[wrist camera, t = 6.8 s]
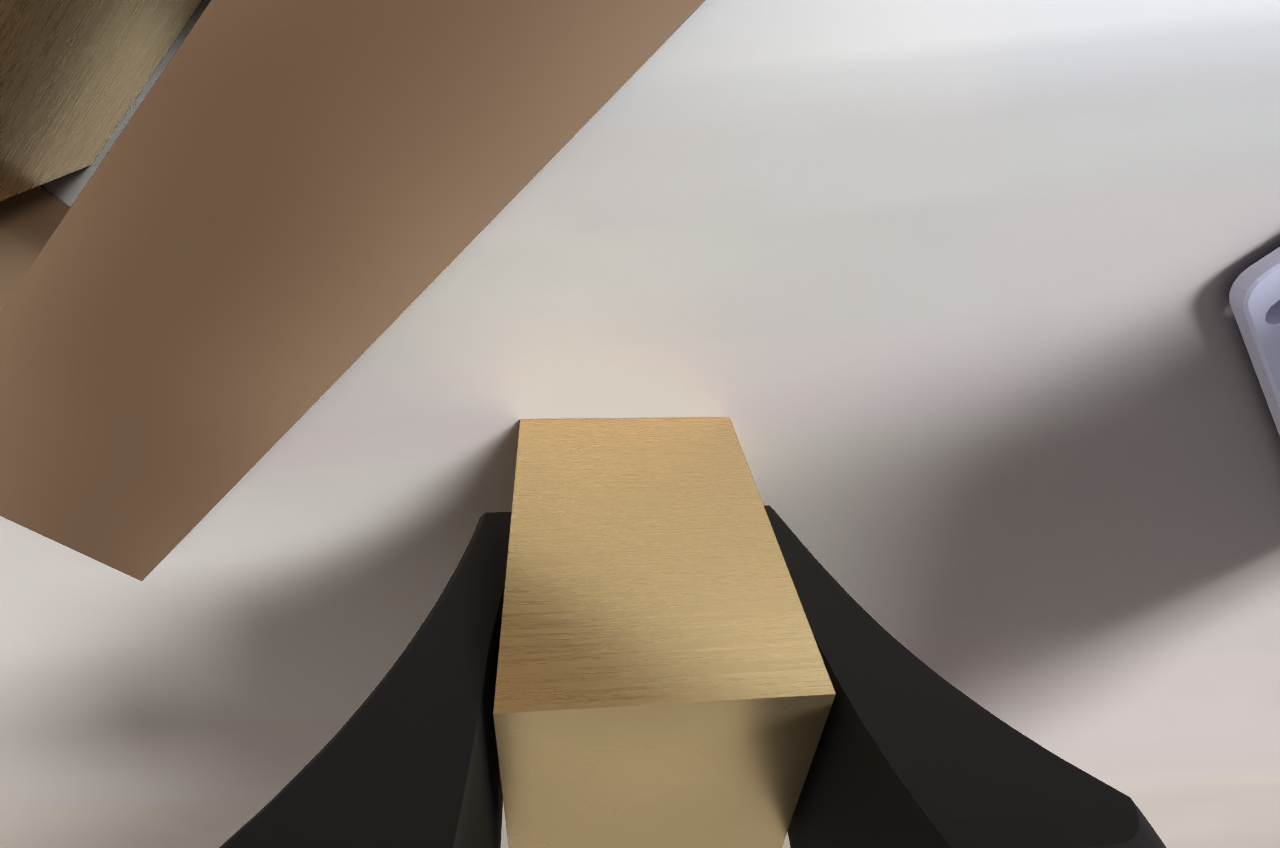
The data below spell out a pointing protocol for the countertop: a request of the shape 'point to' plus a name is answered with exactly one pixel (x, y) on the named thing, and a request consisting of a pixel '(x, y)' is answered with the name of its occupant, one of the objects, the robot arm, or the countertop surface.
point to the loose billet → (650, 644)
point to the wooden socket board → (269, 237)
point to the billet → (73, 78)
